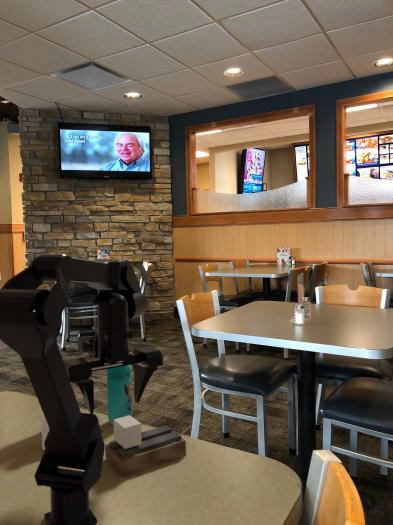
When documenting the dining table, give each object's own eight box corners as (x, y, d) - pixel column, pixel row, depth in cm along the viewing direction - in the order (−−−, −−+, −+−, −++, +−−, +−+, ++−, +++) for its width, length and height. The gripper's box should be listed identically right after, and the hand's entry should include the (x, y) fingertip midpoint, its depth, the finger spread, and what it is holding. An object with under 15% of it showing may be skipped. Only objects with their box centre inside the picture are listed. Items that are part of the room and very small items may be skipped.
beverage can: (127, 427, 101) (126, 364, 100) (104, 426, 102) (102, 363, 101) (135, 417, 107) (134, 357, 106) (113, 416, 108) (111, 357, 107)
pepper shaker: (42, 443, 93) (41, 400, 93) (62, 440, 95) (61, 397, 94) (42, 451, 90) (40, 406, 89) (62, 448, 91) (61, 404, 90)
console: (165, 440, 94) (165, 423, 94) (186, 455, 88) (185, 436, 87) (105, 459, 86) (105, 440, 86) (122, 476, 80) (122, 456, 79)
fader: (130, 439, 88) (129, 415, 87) (141, 449, 83) (141, 423, 83) (114, 444, 86) (113, 419, 85) (124, 454, 81) (124, 428, 81)
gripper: (138, 315, 93) (139, 386, 94) (50, 325, 82) (52, 405, 83) (164, 322, 84) (165, 401, 84) (69, 335, 73) (71, 425, 74)
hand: (114, 407), depth 82 cm, fingers open, 9 cm apart
